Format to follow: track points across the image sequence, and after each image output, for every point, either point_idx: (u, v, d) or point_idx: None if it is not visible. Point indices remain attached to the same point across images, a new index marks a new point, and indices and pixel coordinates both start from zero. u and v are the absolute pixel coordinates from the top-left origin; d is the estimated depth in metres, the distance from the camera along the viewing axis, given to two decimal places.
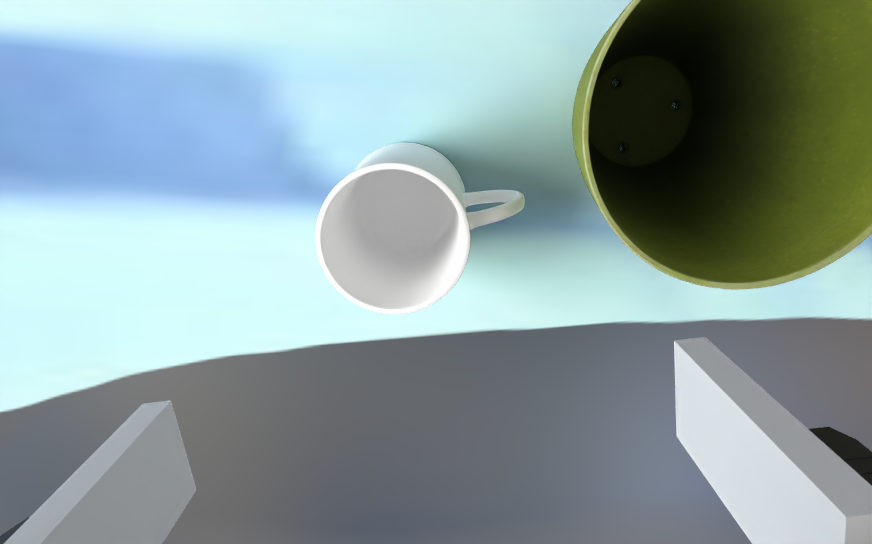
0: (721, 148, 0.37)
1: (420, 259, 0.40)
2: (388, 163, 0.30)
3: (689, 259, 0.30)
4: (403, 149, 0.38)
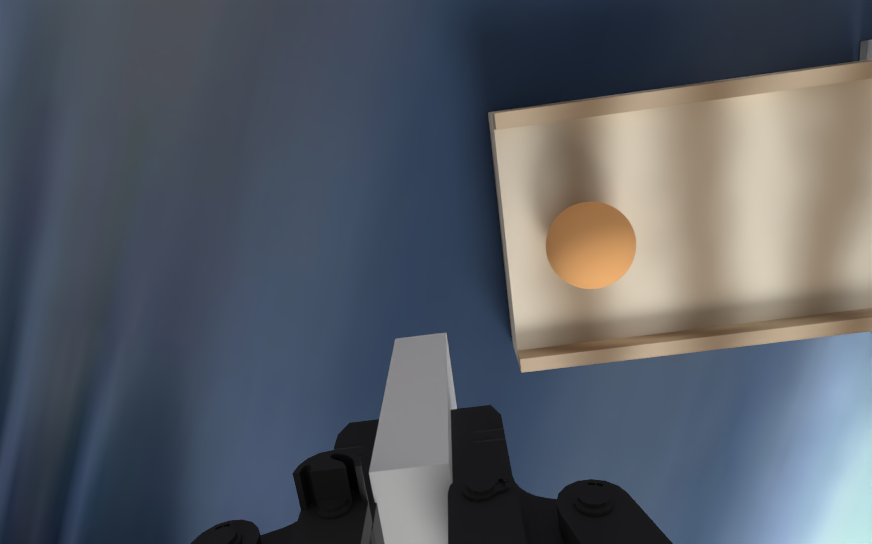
0: None
1: None
2: None
3: None
4: None
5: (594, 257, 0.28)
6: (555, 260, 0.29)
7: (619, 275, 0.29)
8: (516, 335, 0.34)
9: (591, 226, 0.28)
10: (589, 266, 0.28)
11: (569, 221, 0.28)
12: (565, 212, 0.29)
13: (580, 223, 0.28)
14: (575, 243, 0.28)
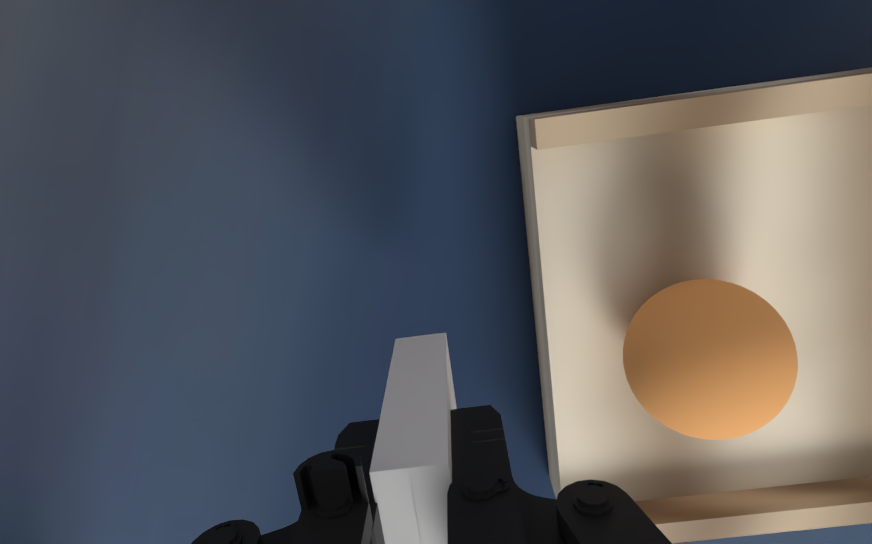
0: None
1: None
2: None
3: None
4: None
5: (730, 397, 0.14)
6: (647, 392, 0.16)
7: (768, 422, 0.15)
8: (561, 485, 0.20)
9: (723, 337, 0.14)
10: (718, 412, 0.15)
11: (676, 323, 0.15)
12: (665, 303, 0.16)
13: (700, 329, 0.15)
14: (692, 369, 0.15)
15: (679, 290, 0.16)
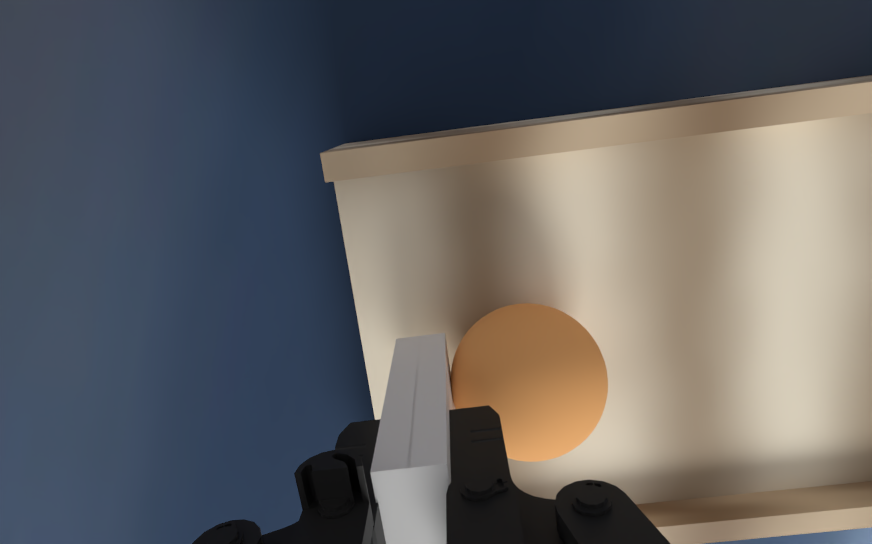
0: None
1: None
2: None
3: None
4: None
5: (560, 416, 0.15)
6: None
7: (590, 433, 0.16)
8: None
9: (547, 358, 0.15)
10: (551, 432, 0.15)
11: (503, 350, 0.15)
12: (488, 331, 0.16)
13: (526, 353, 0.15)
14: (524, 394, 0.15)
15: (499, 317, 0.16)
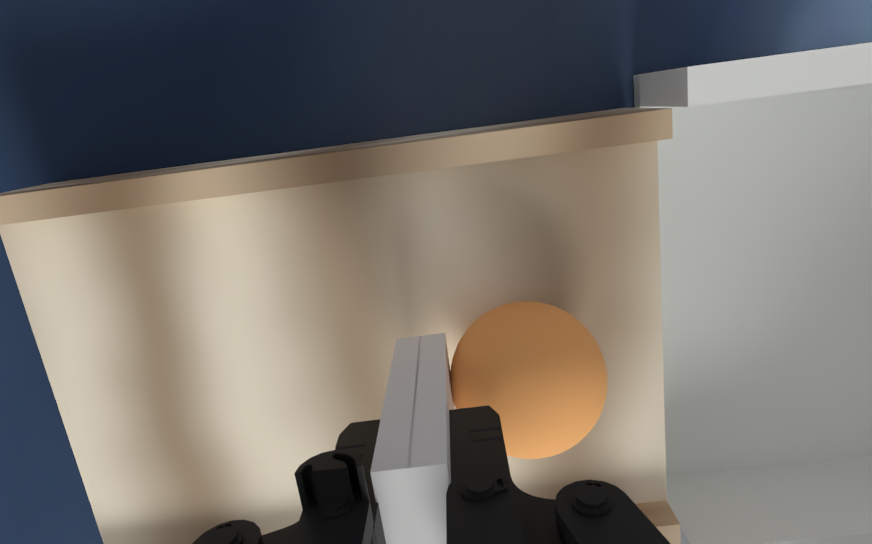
0: None
1: None
2: None
3: None
4: None
5: None
6: None
7: None
8: (103, 534, 0.21)
9: None
10: None
11: None
12: None
13: None
14: None
15: (522, 301, 0.17)
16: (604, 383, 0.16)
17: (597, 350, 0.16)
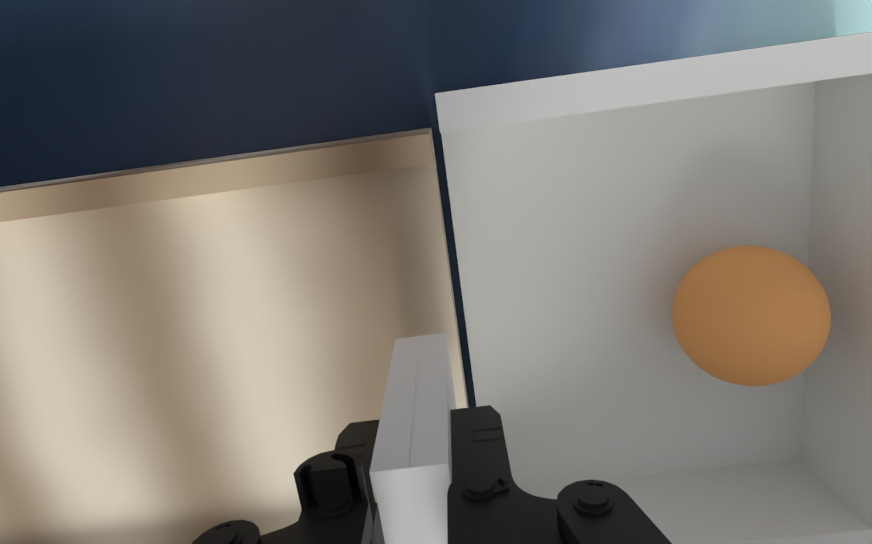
0: None
1: None
2: None
3: None
4: None
5: (673, 319, 0.19)
6: None
7: (709, 369, 0.18)
8: None
9: (688, 278, 0.19)
10: (674, 329, 0.19)
11: None
12: None
13: (692, 268, 0.19)
14: None
15: (736, 246, 0.19)
16: None
17: None
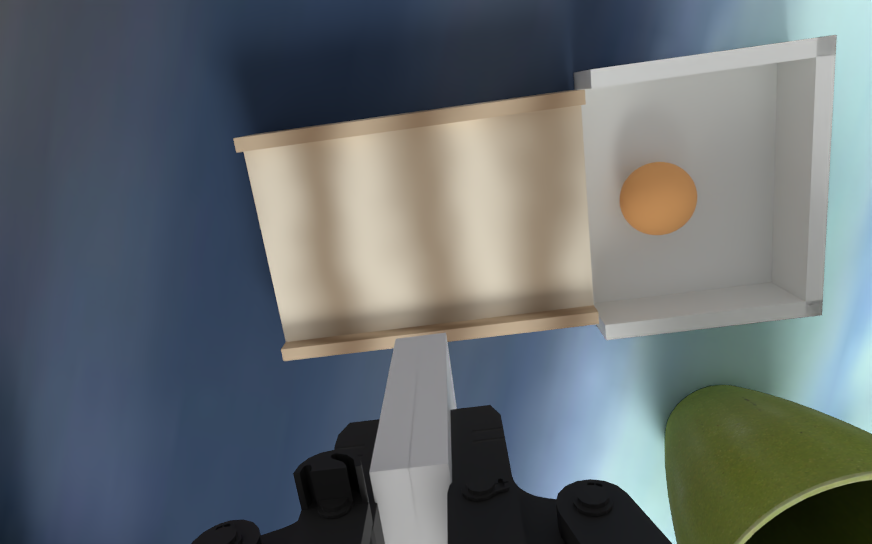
0: None
1: None
2: None
3: None
4: None
5: None
6: (696, 199, 0.35)
7: None
8: (284, 328, 0.38)
9: None
10: None
11: None
12: (677, 166, 0.35)
13: None
14: None
15: (667, 163, 0.35)
16: (634, 204, 0.35)
17: (640, 190, 0.34)
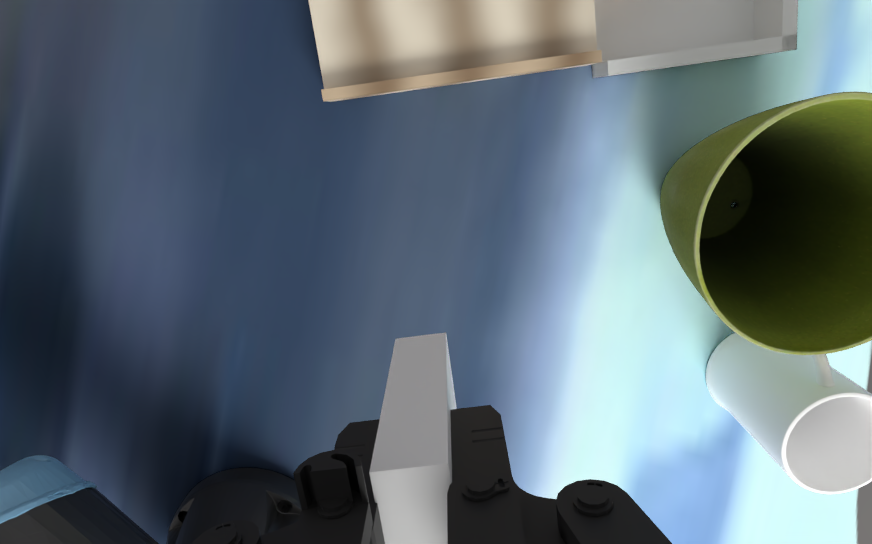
0: (763, 143, 0.43)
1: None
2: (782, 445, 0.41)
3: None
4: (725, 386, 0.49)
5: None
6: None
7: None
8: (323, 77, 0.43)
9: None
10: None
11: None
12: None
13: None
14: None
15: None
16: None
17: None
